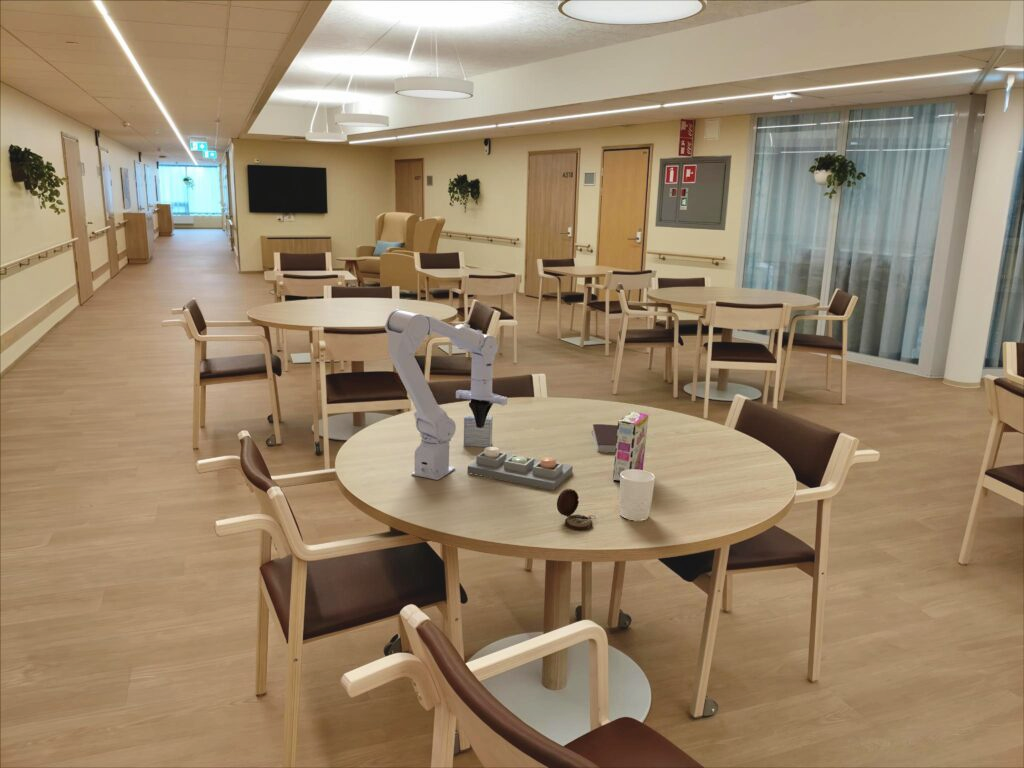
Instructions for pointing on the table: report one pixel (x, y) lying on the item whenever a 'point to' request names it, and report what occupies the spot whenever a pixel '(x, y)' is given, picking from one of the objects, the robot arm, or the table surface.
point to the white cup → (636, 493)
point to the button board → (520, 471)
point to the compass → (572, 510)
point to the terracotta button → (548, 463)
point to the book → (605, 437)
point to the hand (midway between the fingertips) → (480, 426)
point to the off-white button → (491, 452)
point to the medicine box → (477, 432)
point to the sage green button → (519, 460)
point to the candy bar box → (630, 443)
